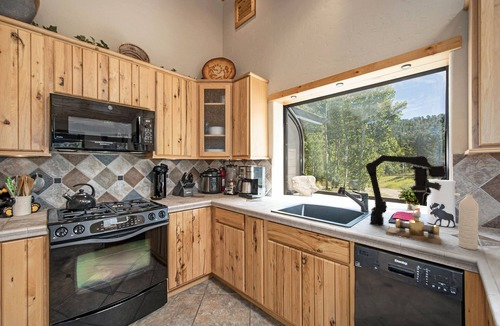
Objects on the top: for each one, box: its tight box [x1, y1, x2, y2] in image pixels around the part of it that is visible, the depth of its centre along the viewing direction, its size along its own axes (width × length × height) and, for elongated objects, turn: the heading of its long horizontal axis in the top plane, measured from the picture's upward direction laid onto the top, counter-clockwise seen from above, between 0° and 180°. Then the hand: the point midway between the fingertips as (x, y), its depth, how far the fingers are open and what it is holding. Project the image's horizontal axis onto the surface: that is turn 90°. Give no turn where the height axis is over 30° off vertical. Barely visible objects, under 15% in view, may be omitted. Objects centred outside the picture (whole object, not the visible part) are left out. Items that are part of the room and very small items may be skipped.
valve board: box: [385, 225, 442, 245], centre depth 114 cm, size 22×11×2 cm, turn 51°
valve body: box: [394, 217, 440, 238], centre depth 113 cm, size 18×6×9 cm, turn 51°
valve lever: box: [412, 207, 422, 218], centre depth 116 cm, size 12×3×3 cm, turn 141°
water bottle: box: [452, 192, 480, 251], centre depth 100 cm, size 9×6×25 cm
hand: (422, 204), depth 120 cm, fingers open, 9 cm apart
